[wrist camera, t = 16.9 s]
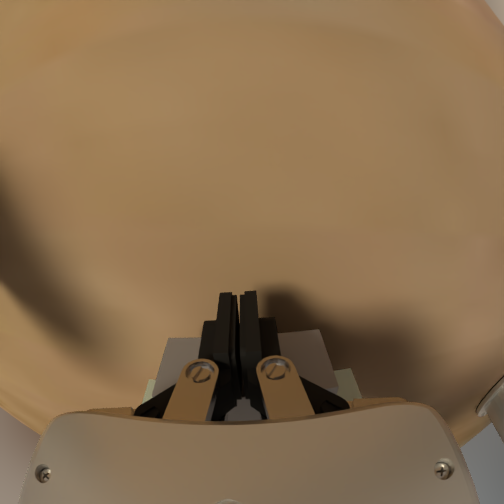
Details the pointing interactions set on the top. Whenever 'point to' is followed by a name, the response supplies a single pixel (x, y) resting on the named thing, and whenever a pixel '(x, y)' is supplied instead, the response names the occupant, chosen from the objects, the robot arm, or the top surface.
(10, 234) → the top surface
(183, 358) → the white open drawer
